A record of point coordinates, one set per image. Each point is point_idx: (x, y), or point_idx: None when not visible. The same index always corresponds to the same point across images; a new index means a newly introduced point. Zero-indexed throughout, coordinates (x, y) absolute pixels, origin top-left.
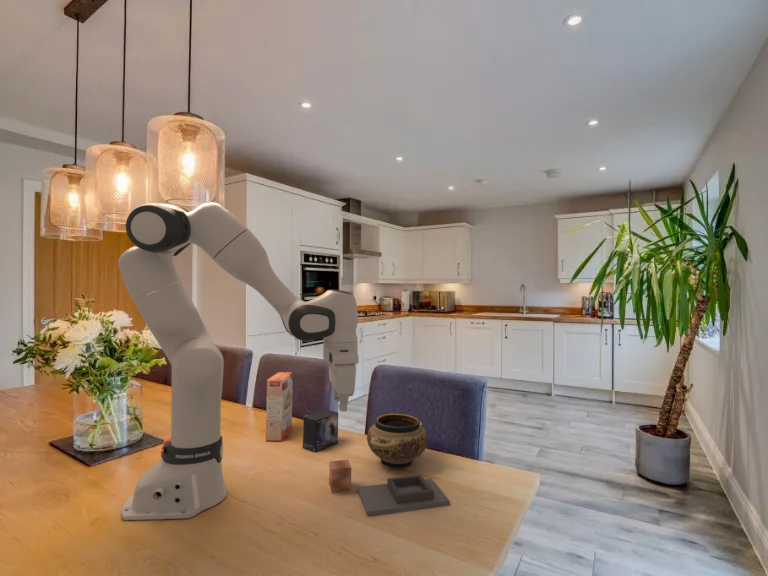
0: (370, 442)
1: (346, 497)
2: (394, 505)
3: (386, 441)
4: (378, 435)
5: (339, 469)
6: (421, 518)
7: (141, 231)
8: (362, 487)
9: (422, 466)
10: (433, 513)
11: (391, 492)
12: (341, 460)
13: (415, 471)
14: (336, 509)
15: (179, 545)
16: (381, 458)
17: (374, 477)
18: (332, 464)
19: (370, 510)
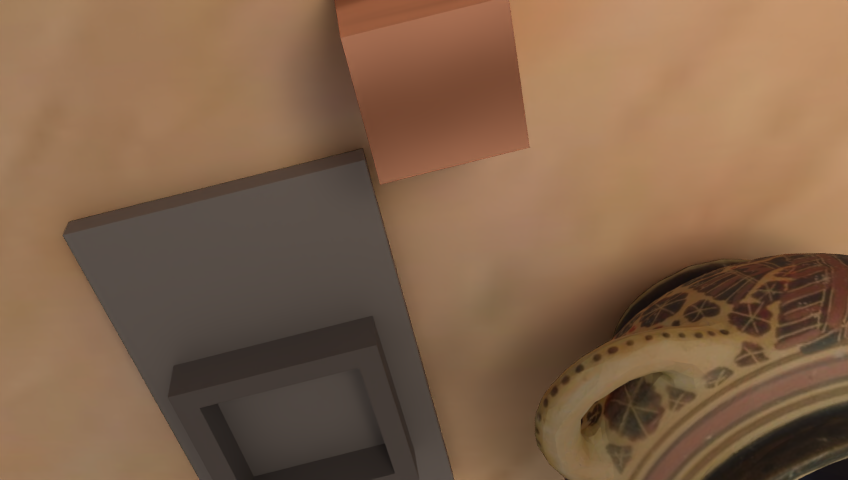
0: (649, 339)
1: (277, 89)
2: (156, 354)
3: (627, 437)
4: (711, 405)
5: (358, 96)
6: (100, 439)
7: None
8: (357, 189)
9: None
10: (153, 477)
11: (288, 340)
12: (519, 97)
13: None
14: (114, 41)
15: None
16: (644, 308)
17: (535, 230)
18: (441, 32)
19: (78, 250)
